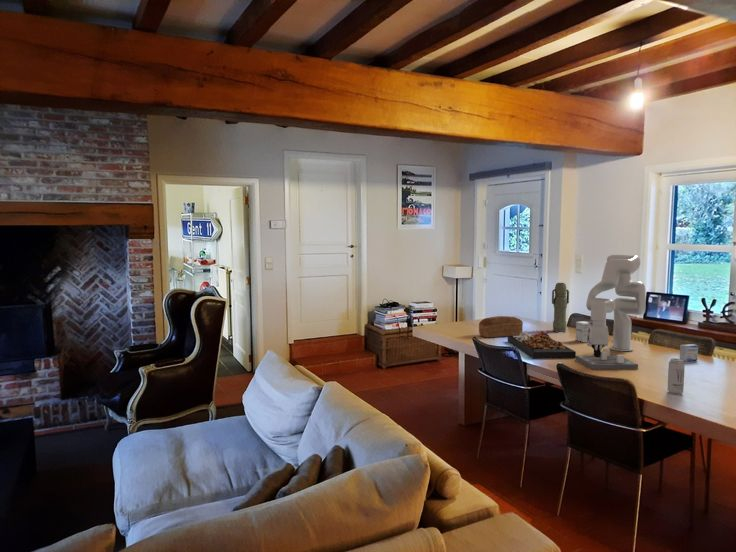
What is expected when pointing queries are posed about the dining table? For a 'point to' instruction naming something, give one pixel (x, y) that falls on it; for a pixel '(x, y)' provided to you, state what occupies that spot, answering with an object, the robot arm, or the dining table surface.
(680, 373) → the energy drink can
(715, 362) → the dining table surface
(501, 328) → the bread
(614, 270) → the robot arm
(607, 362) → the switch board
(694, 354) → the medicine box
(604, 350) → the handle
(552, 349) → the food platter
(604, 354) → the handle middle
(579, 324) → the white ridged canister
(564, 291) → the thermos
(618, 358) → the handle
